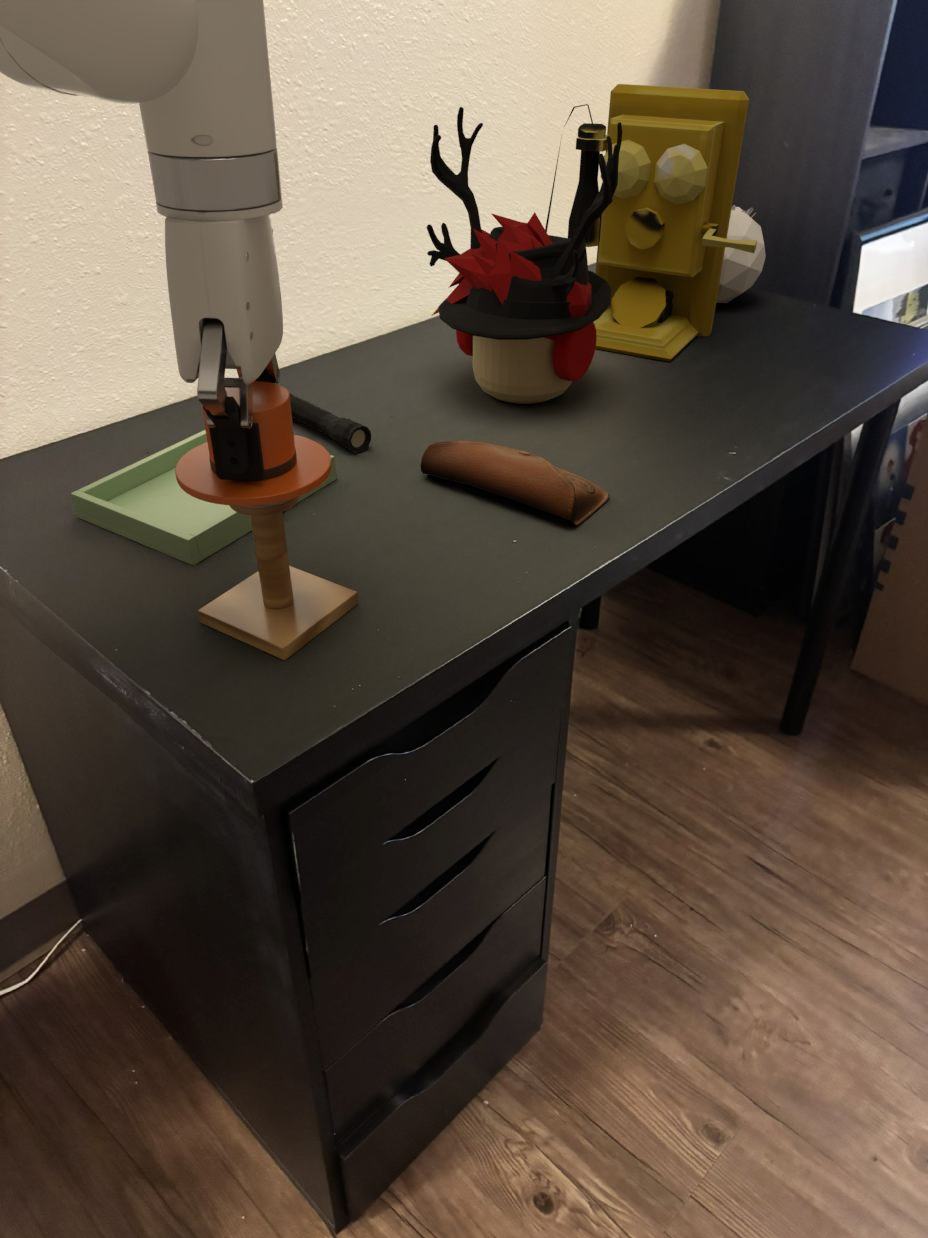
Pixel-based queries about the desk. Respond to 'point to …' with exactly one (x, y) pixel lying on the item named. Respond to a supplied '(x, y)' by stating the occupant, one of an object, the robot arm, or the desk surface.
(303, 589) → the hat stand
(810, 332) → the desk surface
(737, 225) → the geodesic sphere
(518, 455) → the sunglasses case
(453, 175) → the decorative hat
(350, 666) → the desk surface
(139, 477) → the tray
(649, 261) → the vintage telephone
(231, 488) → the small hat
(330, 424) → the flashlight
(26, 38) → the robot arm
